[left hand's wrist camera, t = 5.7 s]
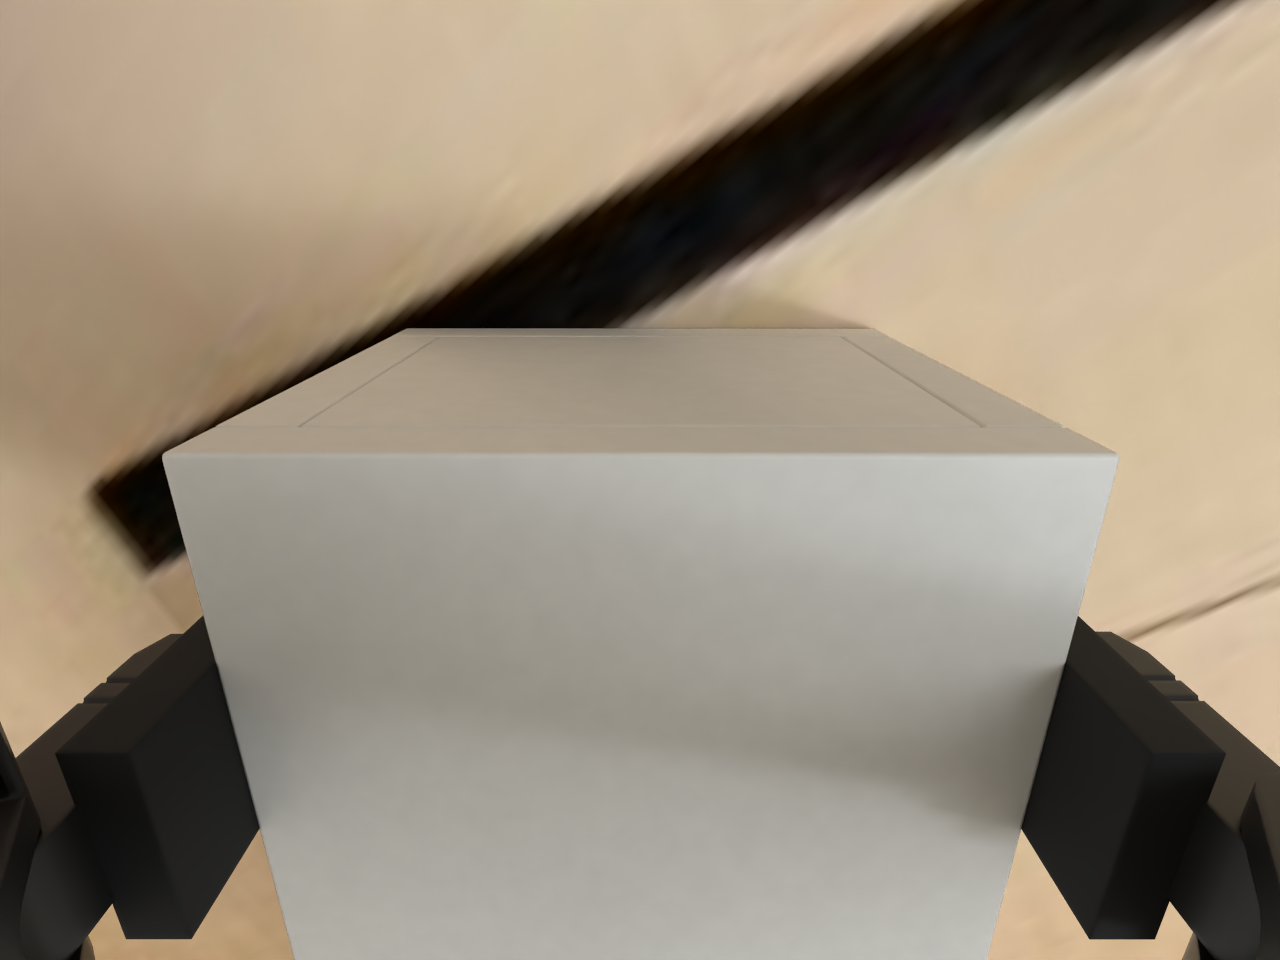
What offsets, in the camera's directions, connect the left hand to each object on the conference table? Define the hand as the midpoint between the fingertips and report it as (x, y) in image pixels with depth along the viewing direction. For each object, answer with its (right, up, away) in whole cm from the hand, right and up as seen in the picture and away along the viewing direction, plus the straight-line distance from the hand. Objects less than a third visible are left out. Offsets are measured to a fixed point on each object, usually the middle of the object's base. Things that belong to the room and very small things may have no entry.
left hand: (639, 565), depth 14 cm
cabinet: (0, -4, +5) cm, 7 cm away
